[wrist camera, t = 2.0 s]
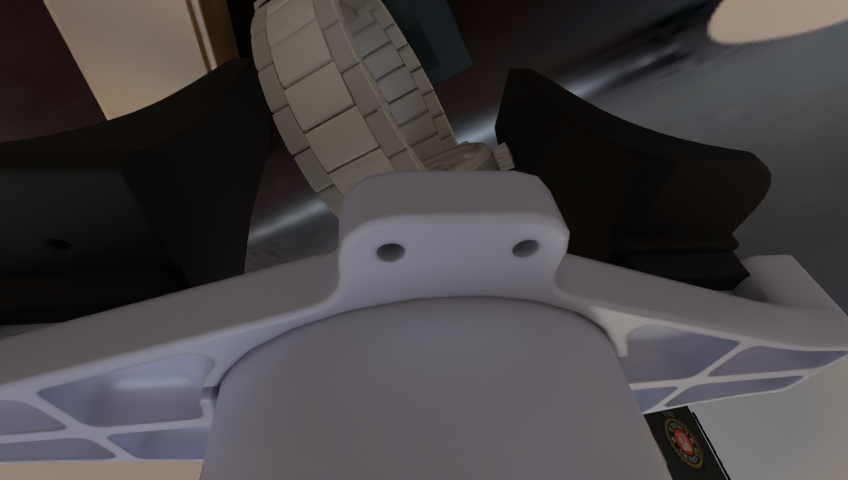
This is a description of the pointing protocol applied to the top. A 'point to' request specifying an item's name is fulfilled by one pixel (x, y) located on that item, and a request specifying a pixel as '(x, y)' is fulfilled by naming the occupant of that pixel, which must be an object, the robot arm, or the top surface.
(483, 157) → the watch
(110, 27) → the pencil box
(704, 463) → the router box
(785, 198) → the top surface
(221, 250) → the robot arm
